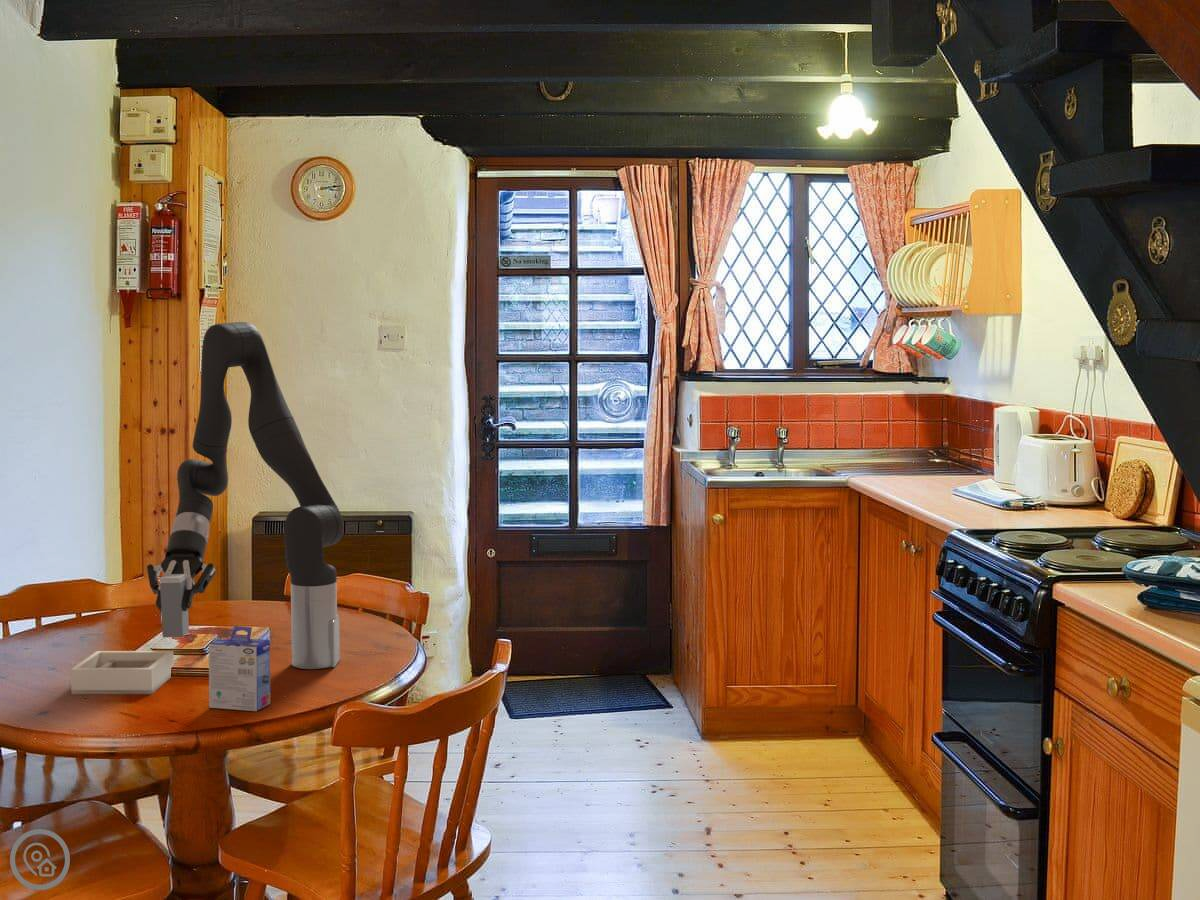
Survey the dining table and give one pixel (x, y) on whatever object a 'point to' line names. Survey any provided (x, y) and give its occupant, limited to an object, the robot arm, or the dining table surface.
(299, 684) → the dining table surface
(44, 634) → the dining table surface
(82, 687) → the caddy
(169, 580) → the plug
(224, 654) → the ink cartridge box
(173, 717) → the dining table surface
